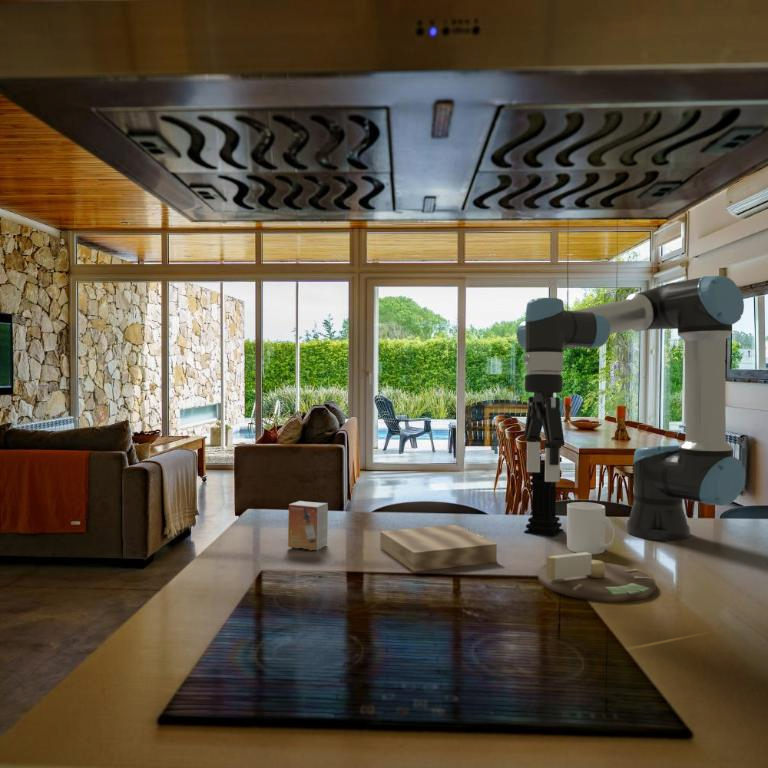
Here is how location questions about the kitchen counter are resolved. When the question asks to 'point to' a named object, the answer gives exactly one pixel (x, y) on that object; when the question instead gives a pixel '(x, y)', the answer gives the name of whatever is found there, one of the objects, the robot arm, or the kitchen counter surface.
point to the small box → (308, 525)
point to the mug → (587, 528)
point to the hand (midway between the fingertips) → (542, 476)
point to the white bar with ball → (574, 566)
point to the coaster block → (437, 547)
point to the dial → (603, 585)
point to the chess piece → (543, 505)
